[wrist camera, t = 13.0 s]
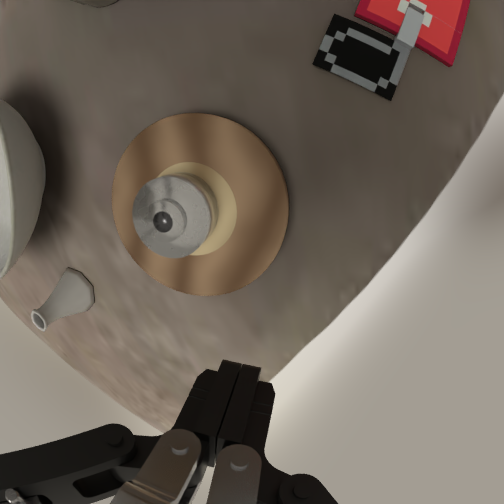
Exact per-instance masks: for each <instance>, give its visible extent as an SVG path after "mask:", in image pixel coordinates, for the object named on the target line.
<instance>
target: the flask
mask: <svg viewBox="0 0 504 504" xmlns="http://www.w3.org/2000/svg"><path fill="white" fill-rule="evenodd" d="M93 303H94V294H93V286H92V285H91V284H90V283H89V282H88V281H87V279H86V278H85V277H84V276H83V275H82V274H81V272H78V271H75V270H73V269H70V268H67V269H66V271H65V272H64V274H63V276H62V277H61V279H60V281H59V282H58V284H57V286H56V287H55V289H54V290H53V292H52V294H51V295H50V297H49V298H48V299H47V301H46V302H45V303H44V304H43V305H42V306H41V307H40V308H39V309H37V310H36V309H34V310H33V311H32V313H31V318H32V321H33V323H34V324H35V325H36V327H37V328H38V329H40V330H42V331H43V332H44V331H45V330H46V328H47V327H48V325H49V324H50V323H52V322H54V321H55V320H57V319H59V318H62V317H66V316H69V315H73V314H77V313H81V312H85V311H88V310H89V309H90V307H91V306H92V305H93Z"/></svg>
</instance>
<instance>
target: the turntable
mask: <svg viewBox="0 0 504 504" xmlns="http://www.w3.org/2000/svg"><path fill="white" fill-rule="evenodd" d="M174 172H187V173H191V174H194V175H196V176H198V177H200V178H201V179H202V180H204V181H205V182H206V183H207V184H208V185H209V186H210V188H211V189H212V191H213V192H214V194H215V197H216V199H217V202H218V209H219V216H218V222H217V225H216V227H215V229H214V231H213V233H212V234H211V235H210V236H209V237H208V238H207V239H206V240H205V241H204V242H203V244H202V245H201V246H200V247H199V248H198V249H197V250H196V251H194V252H193V253H192V254H190V255H188V256H185V257H182V258H167V257H163V256H160V255H158V254H156V253H155V252H153V251H151V250H150V249H149V248H148V247H147V246H146V245H145V244H144V243H143V242H142V241H141V239H140V238H139V236H138V234H137V232H136V230H135V227H134V223H133V217H132V209H133V203H134V200H135V197H136V195H137V193H138V192H139V190H140V189H141V188H142V187H143V186H144V185H145V184H146V183H147V182H149V181H151V180H153V179H155V178H158V177H161V176H164V175H167V174H170V173H174ZM112 210H113V215H114V221H115V224H116V227H117V231H118V233H119V236H120V238H121V240H122V242H123V244H124V246H125V248H126V249H127V251H128V252H129V254H130V255H131V257H132V258H133V259H134V261H135V262H136V263H137V264H138V265H139V266H140V267H141V268H142V269H143V270H144V271H145V272H146V273H147V274H148V275H150V276H151V277H152V278H154V279H155V280H157V281H158V282H160V283H162V284H163V285H165V286H167V287H169V288H172V289H174V290H176V291H180V292H183V293H186V294H192V295H199V296H213V295H221V294H226V293H230V292H233V291H235V290H238V289H240V288H242V287H244V286H246V285H248V284H250V283H251V282H252V281H254V280H255V279H257V278H258V277H259V276H260V275H261V274H262V273H263V272H264V271H265V270H266V269H267V268H268V267H269V265H270V264H271V263H272V261H273V260H274V258H275V257H276V255H277V253H278V251H279V249H280V247H281V244H282V242H283V239H284V236H285V232H286V228H287V223H288V216H289V196H288V191H287V185H286V182H285V179H284V176H283V173H282V170H281V168H280V166H279V164H278V162H277V160H276V158H275V157H274V155H273V154H272V153H271V151H270V150H269V148H268V147H267V146H266V145H265V144H264V143H263V142H262V140H261V139H260V138H258V137H257V136H256V135H255V134H254V133H252V132H251V131H250V130H248V129H247V128H245V127H244V126H242V125H240V124H239V123H236V122H234V121H232V120H230V119H227V118H224V117H220V116H216V115H210V114H202V113H184V114H178V115H173V116H170V117H167V118H164V119H161V120H159V121H157V122H155V123H154V124H152V125H150V126H149V127H147V128H146V129H145V130H143V131H142V132H141V133H140V134H139V135H138V136H137V137H136V138H134V140H133V141H132V142H131V143H130V145H129V146H128V147H127V149H126V150H125V152H124V154H123V155H122V157H121V159H120V161H119V164H118V166H117V169H116V172H115V176H114V181H113V187H112Z"/></svg>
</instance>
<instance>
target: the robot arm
mask: <svg viewBox="0 0 504 504" xmlns="http://www.w3.org/2000/svg"><path fill="white" fill-rule="evenodd" d="M72 1H75V2H78V3H80V4H88V5H91V6H94V7H104V6H108V5H110V4H113V3H115V2H116V1H118V0H72ZM260 372H261V368H260V367H255V366H250V365H246V364H243V365H242V364H241V363H236V362H232V361H228V360H222V362H221V365H220V367H219V370H218V372H217V371H213V370H209V369H206V370H205V371H204V372H203V373H201V374H200V375H199V376H198V377H197V379H196V381H195V383H194V385H193V388H192V389H191V391H190V393H189V396H188V397H187V400H186V402H185V404H184V406H183V408H182V410H181V412H180V414H179V416H178V418H177V420H176V422H175V424H174V426H173V428H172V429H171V430H170V431H167V432H166V433H164V434H163V435H159V436H139V435H133V434H132V432H131V431H130V430H129V429H128V428H127V427H125V426H123V425H120V424H108V425H104V426H101V427H98V428H95V429H92V430H89V431H86V432H83V433H80V434H77V435H74V436H70V437H67V438H64V439H61V440H57V441H53V442H50V443H46V444H42V445H39V446H35V447H31V448H27V449H23V450H19V451H14V452H10V453H5V454H0V504H90V503H93V502H97V501H99V500H103V499H105V498H108V497H111V496H114V495H115V496H114V498H113V500H112V501H111V503H110V504H191V503H192V501H193V499H194V497H195V495H196V493H197V491H198V489H199V486H200V484H201V482H202V478H203V476H204V473H205V471H206V468H207V466H210V467H214V465H215V463H216V466H215V470H214V474H213V478H212V482H211V486H210V491H209V495H208V499H207V503H206V504H338V503H337V502H336V500H335V499H334V498H333V497H332V496H331V494H330V493H329V492H328V491H327V490H326V488H325V487H324V486H323V485H322V483H321V482H320V481H319V480H318V479H317V478H315V477H313V476H311V475H307V474H295V475H292V476H291V475H289V474H287V473H284V472H282V471H280V470H278V469H276V468H274V467H273V466H272V465H271V464H270V463H269V462H268V460H267V459H266V457H265V453H264V448H265V442H266V438H267V433H268V428H269V423H270V418H271V414H272V408H273V403H274V398H275V392H274V389H273V386H272V383H268V382H263V381H259V377H260Z"/></svg>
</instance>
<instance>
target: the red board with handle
mask: <svg viewBox="0 0 504 504" xmlns="http://www.w3.org/2000/svg"><path fill="white" fill-rule="evenodd" d="M469 3H470V0H361V1H360V3H359V5H358V8H357V10H356V12H355V15H354V16H356V17H358V18H360V19H362V20H365V21H367V22H369V23H371V24H373V25H376V26H378V27H380V28H382V29H384V30H386V31H388V32H390V33H392V34H394V35H396V36H395V39H394V40H392V39H390V38H388V37H386V36H384V35H382V34H380V33H378V32H376V31H373V30H371V29H369V28H367V27H365V26H363V25H360V24H358V23H356V22H353V21H351V20H349V19H346V18H344V17H341V16H339V15H336V14H334V16H333V18H332V20H331V23H330V25H329V27H328V30H327V32H326V34H325V36H324V39H323V41H322V43H321V46H320V48H319V50H318V52H317V55H316V57H315V59H314V62H313V65H315V66H318V67H320V68H323V69H325V70H328V71H330V72H332V73H335V74H337V75H339V76H341V77H344V78H346V79H348V80H350V81H352V82H355V83H357V84H359V85H361V86H363V87H365V88H367V89H369V90H371V91H373V92H375V93H377V94H379V95H381V96H383V97H385V98H386V99H388V100H390V101H391V100H392V97H393V95H394V92H395V90H396V87H397V85H398V82H399V79H400V77H401V74H402V72H403V69H404V66H405V64H406V61H407V58H408V56H409V53H410V50H411V49H412V48H414V46H416V47H417V48H419V49H421V50H422V51H424V52H426V53H427V54H429V55H431V56H432V57H434V58H435V59H437V60H439V61H440V62H442V63H443V64H445V65H446V66H448V67H450V66H452V65H453V62H454V59H455V55H456V52H457V49H458V45H459V42H460V39H461V35H462V31H463V28H464V24H465V20H466V16H467V12H468V8H469ZM408 6H409V7H408ZM410 7H411V8H410ZM412 8H413V9H412ZM414 9H415V10H414ZM417 11H418V12H417ZM419 12H420V13H419ZM421 13H422V14H421Z"/></svg>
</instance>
